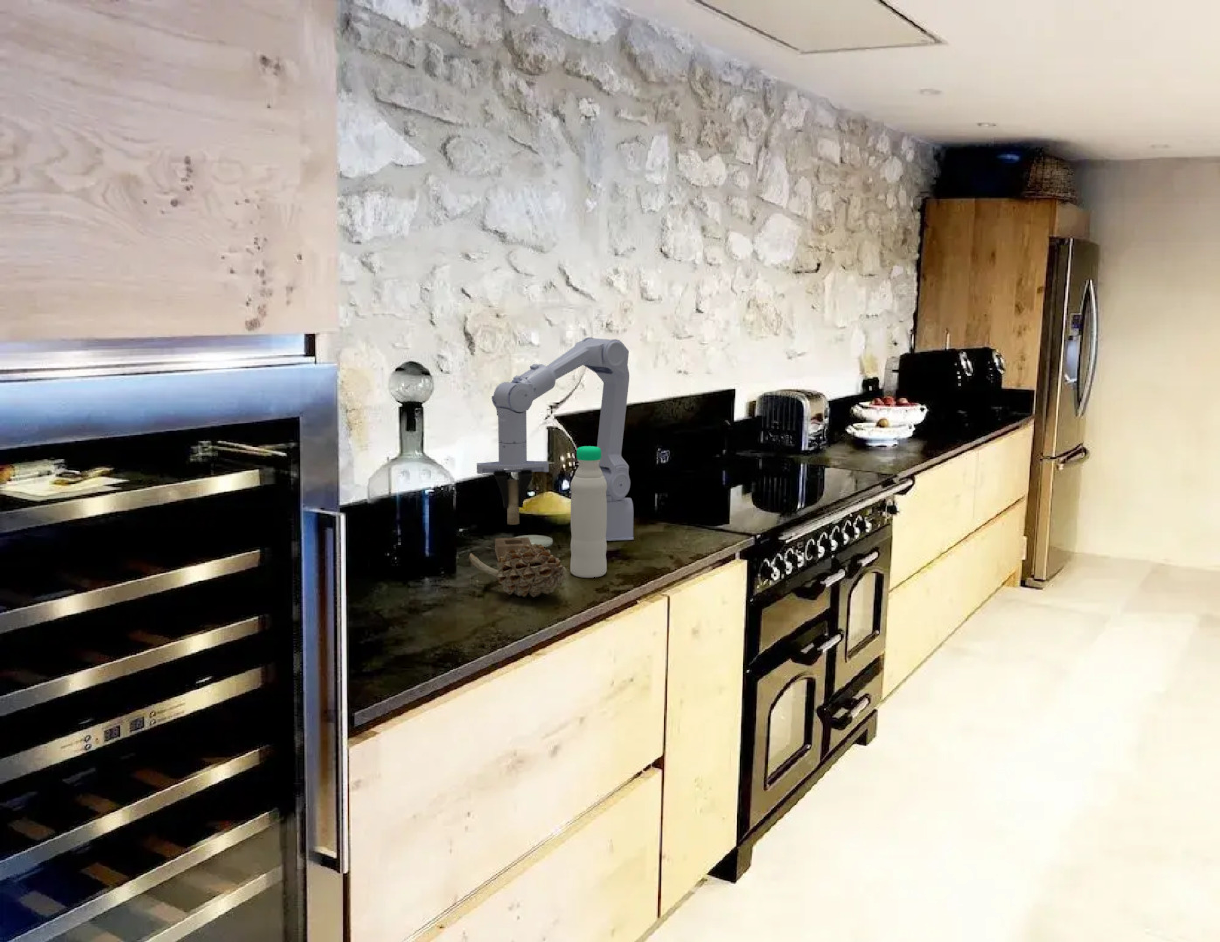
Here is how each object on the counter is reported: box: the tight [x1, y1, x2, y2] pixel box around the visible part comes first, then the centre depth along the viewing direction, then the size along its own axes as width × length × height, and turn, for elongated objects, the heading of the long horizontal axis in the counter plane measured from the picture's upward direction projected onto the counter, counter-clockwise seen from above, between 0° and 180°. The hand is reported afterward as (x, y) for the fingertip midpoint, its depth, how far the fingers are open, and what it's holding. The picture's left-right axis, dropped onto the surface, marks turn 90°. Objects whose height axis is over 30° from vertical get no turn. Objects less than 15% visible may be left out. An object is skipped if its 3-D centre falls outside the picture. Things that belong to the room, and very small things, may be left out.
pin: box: [506, 478, 520, 526], centre depth 223 cm, size 2×2×9 cm
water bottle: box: [570, 445, 608, 579], centre depth 210 cm, size 7×7×25 cm
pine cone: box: [468, 544, 567, 598], centre depth 198 cm, size 22×10×10 cm, turn 61°
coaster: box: [513, 534, 554, 548], centre depth 236 cm, size 9×9×1 cm
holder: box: [494, 537, 532, 562], centre depth 225 cm, size 7×7×3 cm
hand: (513, 507), depth 223 cm, fingers closed on pin, 2 cm apart
